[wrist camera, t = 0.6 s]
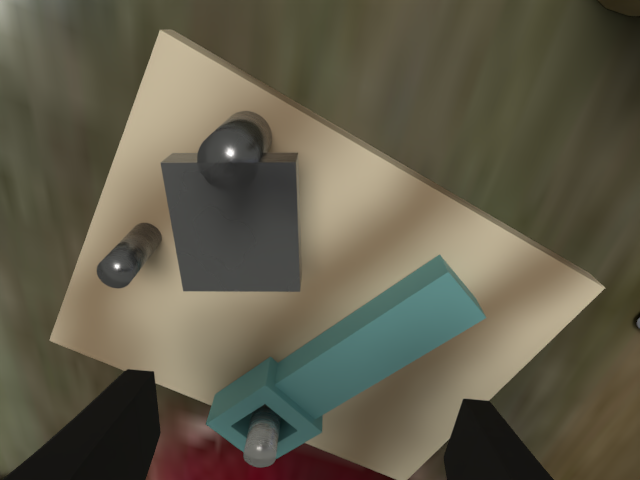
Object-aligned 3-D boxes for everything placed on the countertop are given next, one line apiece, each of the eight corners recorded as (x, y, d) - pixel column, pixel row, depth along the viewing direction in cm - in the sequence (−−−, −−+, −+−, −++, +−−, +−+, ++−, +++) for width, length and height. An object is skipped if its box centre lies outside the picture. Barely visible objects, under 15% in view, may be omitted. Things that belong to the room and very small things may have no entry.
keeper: (306, 236, 19) (300, 295, 15) (146, 236, 19) (95, 294, 15) (303, 104, 16) (294, 131, 12) (119, 106, 16) (49, 132, 12)
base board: (589, 273, 19) (605, 287, 18) (401, 463, 25) (404, 482, 24) (172, 29, 15) (160, 29, 14) (63, 324, 21) (49, 340, 20)
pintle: (287, 393, 21) (281, 452, 18) (275, 411, 22) (267, 471, 19) (262, 382, 21) (251, 441, 18) (250, 400, 22) (238, 460, 19)
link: (267, 435, 23) (263, 466, 21) (215, 394, 21) (205, 424, 20) (481, 305, 19) (496, 331, 17) (432, 246, 17) (443, 268, 16)
